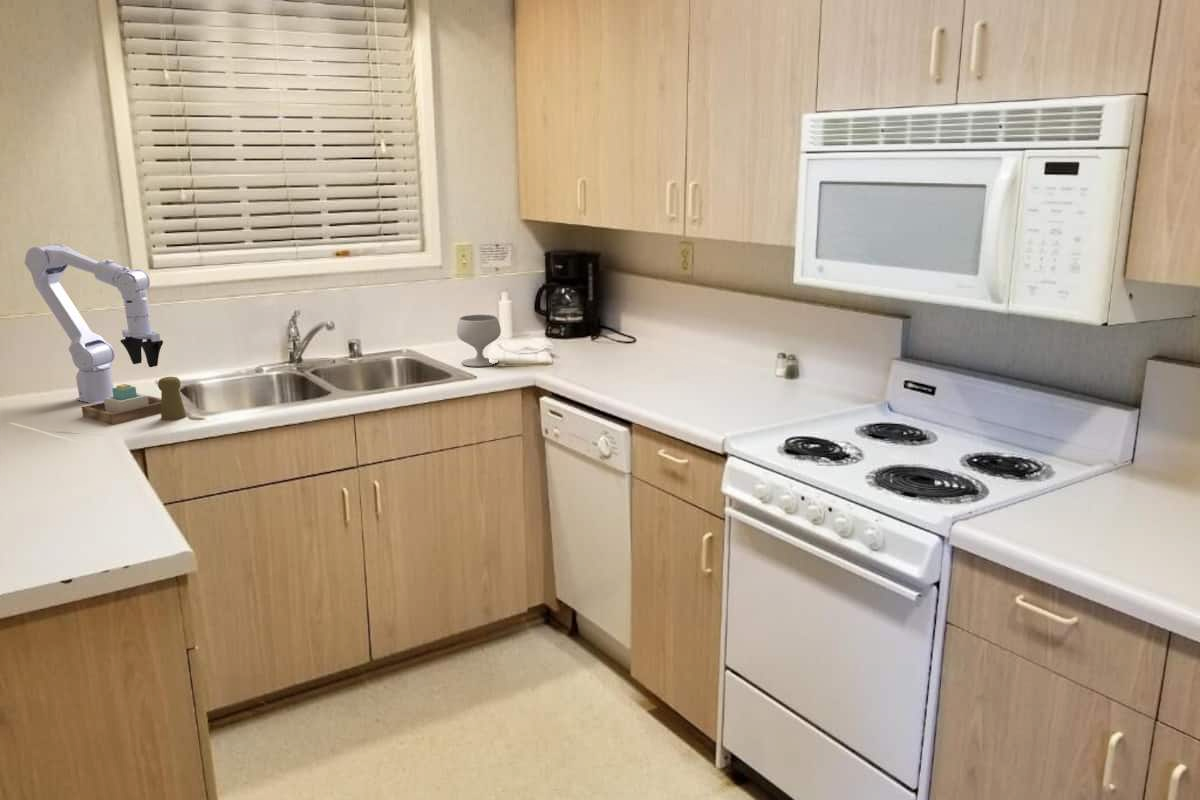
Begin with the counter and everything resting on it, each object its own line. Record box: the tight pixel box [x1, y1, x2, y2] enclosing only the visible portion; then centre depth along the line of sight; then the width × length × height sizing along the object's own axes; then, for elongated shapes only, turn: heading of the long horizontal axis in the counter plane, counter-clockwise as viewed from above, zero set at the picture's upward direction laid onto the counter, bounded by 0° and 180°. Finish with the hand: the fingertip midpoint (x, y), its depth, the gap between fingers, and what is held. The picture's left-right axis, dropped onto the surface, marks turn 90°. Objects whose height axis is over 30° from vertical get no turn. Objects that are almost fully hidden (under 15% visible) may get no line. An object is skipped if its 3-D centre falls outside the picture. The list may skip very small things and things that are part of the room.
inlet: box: [104, 392, 149, 413], centre depth 241 cm, size 8×8×4 cm
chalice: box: [456, 314, 502, 368], centre depth 296 cm, size 14×14×15 cm
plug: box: [112, 383, 137, 401], centre depth 241 cm, size 4×4×8 cm
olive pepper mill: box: [157, 376, 187, 422], centre depth 236 cm, size 6×6×11 cm
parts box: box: [81, 394, 161, 426], centre depth 242 cm, size 14×16×3 cm
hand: (145, 364), depth 252 cm, fingers open, 7 cm apart
